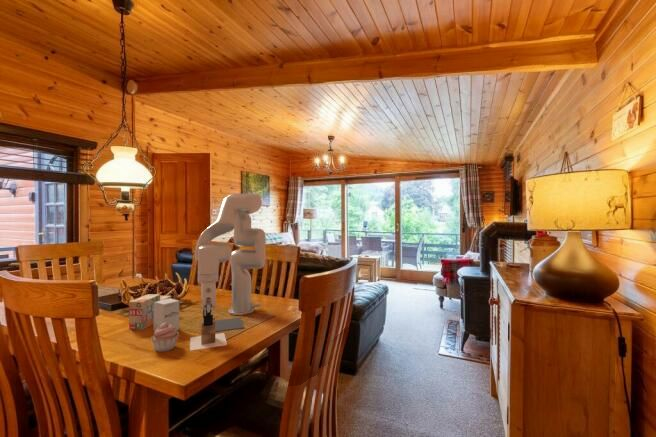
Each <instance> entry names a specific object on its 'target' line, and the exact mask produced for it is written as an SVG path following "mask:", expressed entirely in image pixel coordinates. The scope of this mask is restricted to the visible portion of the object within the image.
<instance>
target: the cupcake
mask: <svg viewBox="0 0 656 437" xmlns="http://www.w3.org/2000/svg"><path fill="white" fill-rule="evenodd" d="M179 333H180V332H178V330H176V329H175V328H174V326H173V325H171V324H168V323H167V322H165V323H162V324H161V325H160V326H159V328H158V329H157V330H156V331H153V335H152V336H151V338H150V340H151V342H152V344H153V345H154V350H155V351H156V352H159V353H163V352H168V351H169V352H170V351H172V350H173V349H175V347H176V343H177V339H178V337H179V336H180V335H179Z"/></svg>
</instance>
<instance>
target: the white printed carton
mask: <svg viewBox="0 0 656 437" xmlns="http://www.w3.org/2000/svg"><path fill="white" fill-rule="evenodd" d="M165 299H173V298H172V295H161V294H158V293H157V294H155V293H154V294H153V293H151V294H150V293H148V294H145V295H142V296H140V297H138V298H137V297H136V298H135V299H132V300H129V303H128V304H129V305H128V306H129V308H128V316H129V320H128V322H129V323H128V325H129V327H128V328H129V330H142V331H143V330H145V329H147V328H149V327H151V326H152V325H153V326H154V302H157V301H161V300H165Z"/></svg>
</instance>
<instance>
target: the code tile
mask: <svg viewBox="0 0 656 437" xmlns="http://www.w3.org/2000/svg"><path fill="white" fill-rule="evenodd" d="M226 338H227V337H226V335H225V333H224V332H220V333H215V343H208V344H201V335H199V336H198V335H197V336H193V337H190V338H189V351H196V350H197V351H198V350H203V349H210V348H217V347H222V346H223V347H224V346H228V343H227V339H226Z"/></svg>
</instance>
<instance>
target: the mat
mask: <svg viewBox="0 0 656 437" xmlns="http://www.w3.org/2000/svg"><path fill="white" fill-rule="evenodd" d="M241 329H242V330H243V329H245V326H244V323H243V320H242V319H241V317H235V318H234V317H233V318H226V319H217V320H216V319H215V333H217V332H225V331H227V332H228V331H232V330H234V331H235V330H241Z"/></svg>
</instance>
